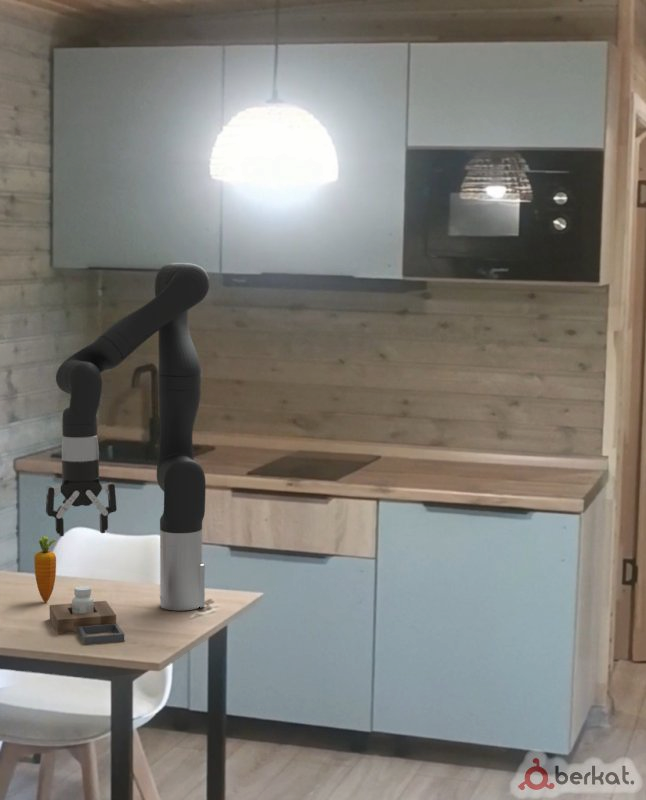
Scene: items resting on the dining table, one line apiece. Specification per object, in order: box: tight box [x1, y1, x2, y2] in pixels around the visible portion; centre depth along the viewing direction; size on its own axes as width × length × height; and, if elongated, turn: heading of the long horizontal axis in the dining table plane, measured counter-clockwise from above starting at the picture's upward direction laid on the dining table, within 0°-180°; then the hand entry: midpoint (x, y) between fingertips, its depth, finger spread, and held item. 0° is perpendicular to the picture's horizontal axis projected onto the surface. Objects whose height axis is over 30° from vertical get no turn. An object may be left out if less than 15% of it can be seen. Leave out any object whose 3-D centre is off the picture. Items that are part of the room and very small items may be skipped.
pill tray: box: [77, 623, 125, 646], centre depth 269 cm, size 8×8×2 cm
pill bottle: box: [71, 585, 94, 614], centre depth 278 cm, size 4×4×8 cm
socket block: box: [49, 600, 117, 635], centre depth 279 cm, size 12×12×3 cm
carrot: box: [33, 535, 57, 603], centre depth 295 cm, size 5×5×15 cm
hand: (81, 534), depth 277 cm, fingers open, 8 cm apart
